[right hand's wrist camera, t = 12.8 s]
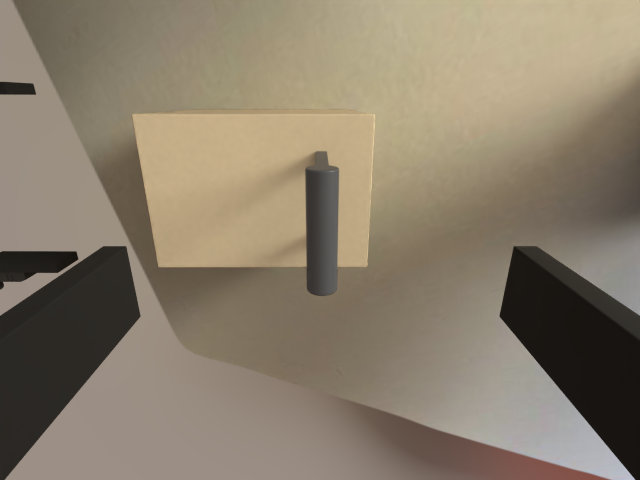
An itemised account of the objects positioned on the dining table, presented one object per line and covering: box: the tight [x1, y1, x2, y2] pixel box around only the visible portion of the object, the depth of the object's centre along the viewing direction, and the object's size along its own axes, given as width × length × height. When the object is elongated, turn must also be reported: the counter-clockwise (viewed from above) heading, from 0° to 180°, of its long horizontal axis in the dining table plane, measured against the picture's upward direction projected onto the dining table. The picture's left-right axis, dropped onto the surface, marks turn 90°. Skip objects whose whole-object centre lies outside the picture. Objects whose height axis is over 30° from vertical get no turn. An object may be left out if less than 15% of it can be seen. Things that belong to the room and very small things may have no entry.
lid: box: [132, 114, 375, 296], centre depth 21 cm, size 15×10×8 cm
